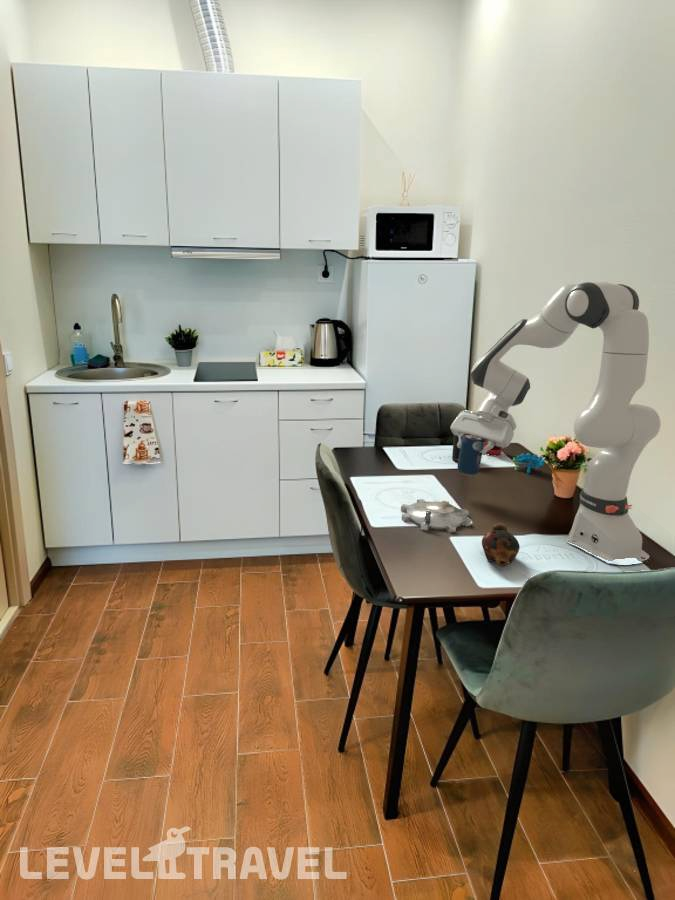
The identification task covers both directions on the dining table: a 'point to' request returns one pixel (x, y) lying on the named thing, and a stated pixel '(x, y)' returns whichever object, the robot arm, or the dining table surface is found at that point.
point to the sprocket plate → (435, 515)
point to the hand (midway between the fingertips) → (470, 450)
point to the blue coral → (528, 461)
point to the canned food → (494, 450)
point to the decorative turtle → (500, 545)
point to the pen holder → (455, 449)
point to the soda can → (470, 455)
